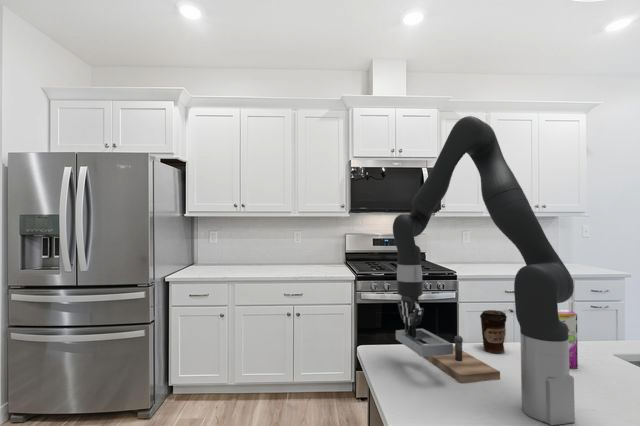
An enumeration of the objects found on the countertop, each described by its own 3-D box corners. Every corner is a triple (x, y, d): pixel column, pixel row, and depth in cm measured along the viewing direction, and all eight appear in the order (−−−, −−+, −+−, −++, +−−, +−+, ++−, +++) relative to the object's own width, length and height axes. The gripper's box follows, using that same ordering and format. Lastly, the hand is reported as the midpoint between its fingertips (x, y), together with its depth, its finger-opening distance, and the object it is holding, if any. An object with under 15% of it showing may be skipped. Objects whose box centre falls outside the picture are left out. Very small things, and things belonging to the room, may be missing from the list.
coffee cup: (513, 355, 116) (512, 315, 116) (487, 355, 116) (486, 314, 117) (500, 346, 125) (499, 309, 125) (476, 346, 125) (475, 308, 125)
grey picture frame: (453, 354, 95) (452, 344, 95) (422, 356, 93) (421, 346, 93) (422, 337, 110) (422, 328, 110) (395, 339, 108) (395, 330, 108)
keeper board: (500, 379, 98) (499, 344, 98) (461, 382, 95) (460, 348, 96) (450, 349, 121) (449, 322, 122) (417, 352, 119) (417, 324, 119)
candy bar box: (539, 368, 106) (538, 312, 106) (531, 361, 111) (529, 308, 111) (579, 369, 105) (578, 313, 105) (569, 363, 110) (568, 309, 110)
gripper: (432, 281, 104) (433, 342, 103) (410, 276, 117) (411, 330, 116) (408, 282, 102) (409, 344, 101) (389, 276, 115) (389, 331, 114)
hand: (410, 336), depth 109 cm, fingers closed on grey picture frame, 1 cm apart
